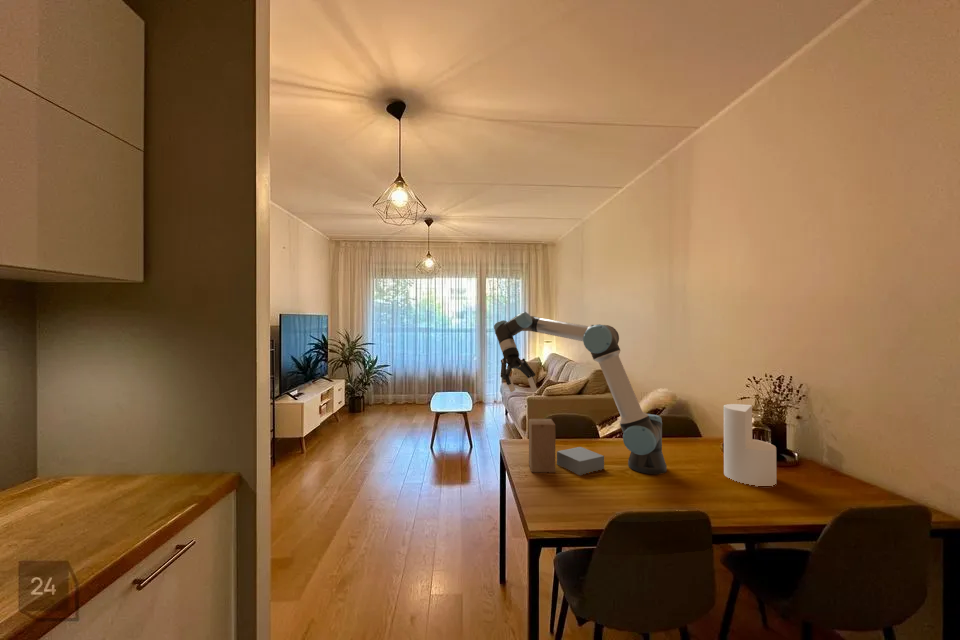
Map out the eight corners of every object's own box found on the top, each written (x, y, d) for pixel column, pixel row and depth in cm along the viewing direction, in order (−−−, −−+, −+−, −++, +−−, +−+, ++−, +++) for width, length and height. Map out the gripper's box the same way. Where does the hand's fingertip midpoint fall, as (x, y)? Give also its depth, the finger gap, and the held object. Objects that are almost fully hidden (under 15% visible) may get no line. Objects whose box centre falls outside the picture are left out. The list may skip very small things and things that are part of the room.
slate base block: (604, 470, 160) (604, 455, 160) (579, 476, 153) (579, 461, 153) (580, 459, 172) (580, 446, 172) (556, 465, 165) (556, 451, 165)
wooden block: (555, 473, 155) (555, 424, 156) (531, 472, 156) (531, 424, 156) (551, 464, 165) (551, 418, 166) (528, 463, 165) (528, 418, 166)
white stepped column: (719, 478, 151) (719, 408, 152) (728, 466, 164) (727, 402, 164) (774, 491, 139) (773, 415, 140) (778, 477, 152) (778, 408, 153)
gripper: (523, 355, 191) (538, 393, 181) (485, 353, 176) (498, 395, 166) (532, 347, 186) (548, 386, 176) (494, 345, 171) (508, 387, 161)
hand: (524, 390), depth 171 cm, fingers open, 13 cm apart
